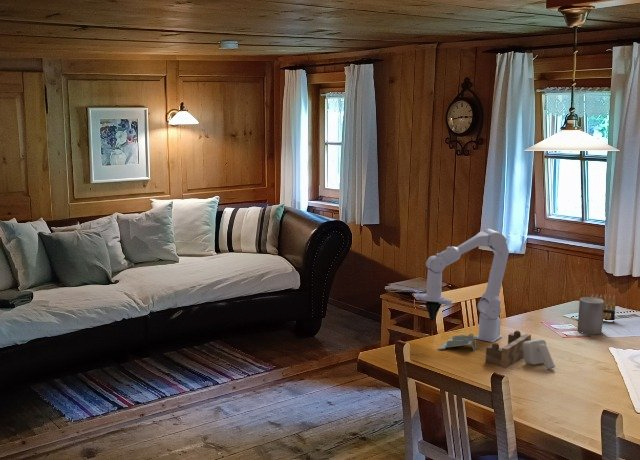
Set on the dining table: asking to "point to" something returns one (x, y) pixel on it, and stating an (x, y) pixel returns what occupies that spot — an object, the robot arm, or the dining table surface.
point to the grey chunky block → (537, 353)
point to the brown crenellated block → (507, 350)
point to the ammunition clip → (608, 307)
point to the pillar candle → (590, 315)
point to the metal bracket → (460, 341)
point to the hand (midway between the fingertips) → (432, 320)
